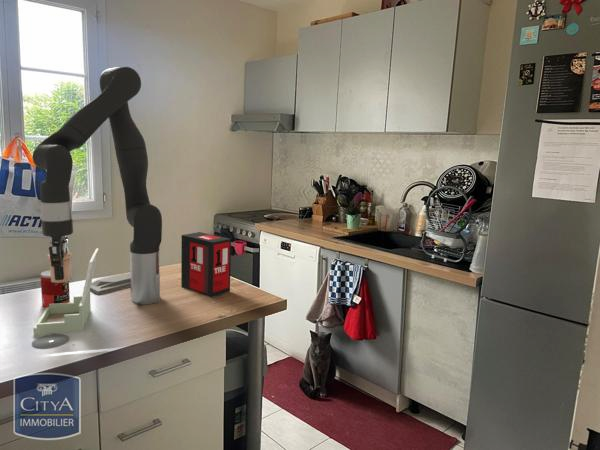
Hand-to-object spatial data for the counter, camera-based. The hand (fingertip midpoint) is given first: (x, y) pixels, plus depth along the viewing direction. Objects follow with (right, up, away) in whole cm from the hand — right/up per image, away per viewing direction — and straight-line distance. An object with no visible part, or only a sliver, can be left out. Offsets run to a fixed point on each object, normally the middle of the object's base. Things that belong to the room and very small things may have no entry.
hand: (61, 276), depth 124 cm
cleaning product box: (+33, -10, +39) cm, 52 cm away
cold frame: (-1, -14, +3) cm, 14 cm away
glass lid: (+7, 0, +2) cm, 7 cm away
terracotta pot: (0, -1, 0) cm, 1 cm away
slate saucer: (+2, -16, -10) cm, 19 cm away
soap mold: (0, -9, +38) cm, 39 cm away
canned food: (-10, -11, +16) cm, 22 cm away
